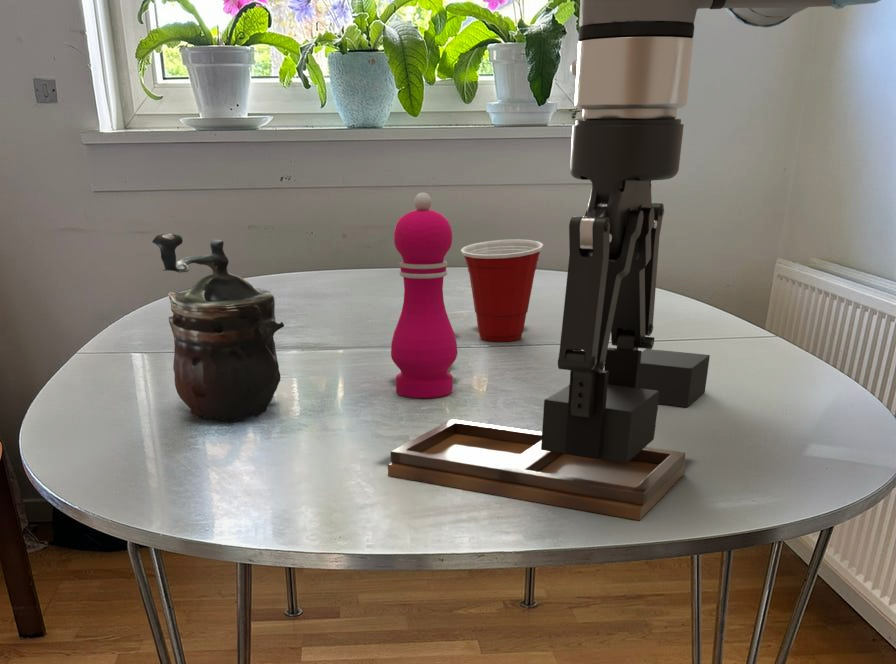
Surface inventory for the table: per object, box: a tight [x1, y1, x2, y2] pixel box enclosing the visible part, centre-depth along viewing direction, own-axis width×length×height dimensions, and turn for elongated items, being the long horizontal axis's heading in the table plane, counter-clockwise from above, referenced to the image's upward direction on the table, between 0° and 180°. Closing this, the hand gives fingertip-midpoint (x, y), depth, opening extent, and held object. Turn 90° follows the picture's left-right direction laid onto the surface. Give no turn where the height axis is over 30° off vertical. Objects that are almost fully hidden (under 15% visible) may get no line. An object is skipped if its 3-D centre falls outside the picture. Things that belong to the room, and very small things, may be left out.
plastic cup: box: [460, 239, 544, 342], centre depth 127 cm, size 11×11×12 cm
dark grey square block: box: [638, 348, 711, 408], centre depth 101 cm, size 7×7×4 cm
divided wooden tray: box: [387, 418, 687, 521], centre depth 80 cm, size 22×12×2 cm, turn 60°
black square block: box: [541, 384, 660, 464], centre depth 75 cm, size 7×7×4 cm
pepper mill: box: [390, 192, 458, 399], centre depth 100 cm, size 7×7×20 cm
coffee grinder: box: [152, 233, 285, 424], centre depth 93 cm, size 13×15×18 cm
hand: (600, 441), depth 76 cm, fingers closed on black square block, 7 cm apart
